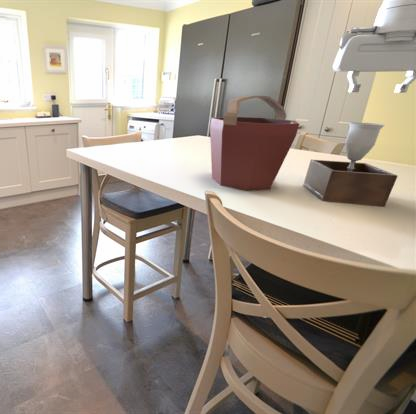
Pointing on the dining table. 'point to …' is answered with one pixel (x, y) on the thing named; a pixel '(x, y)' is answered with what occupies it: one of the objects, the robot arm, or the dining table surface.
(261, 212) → the dining table surface
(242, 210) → the dining table surface
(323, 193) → the bin
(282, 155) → the bucket
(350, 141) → the chalice
